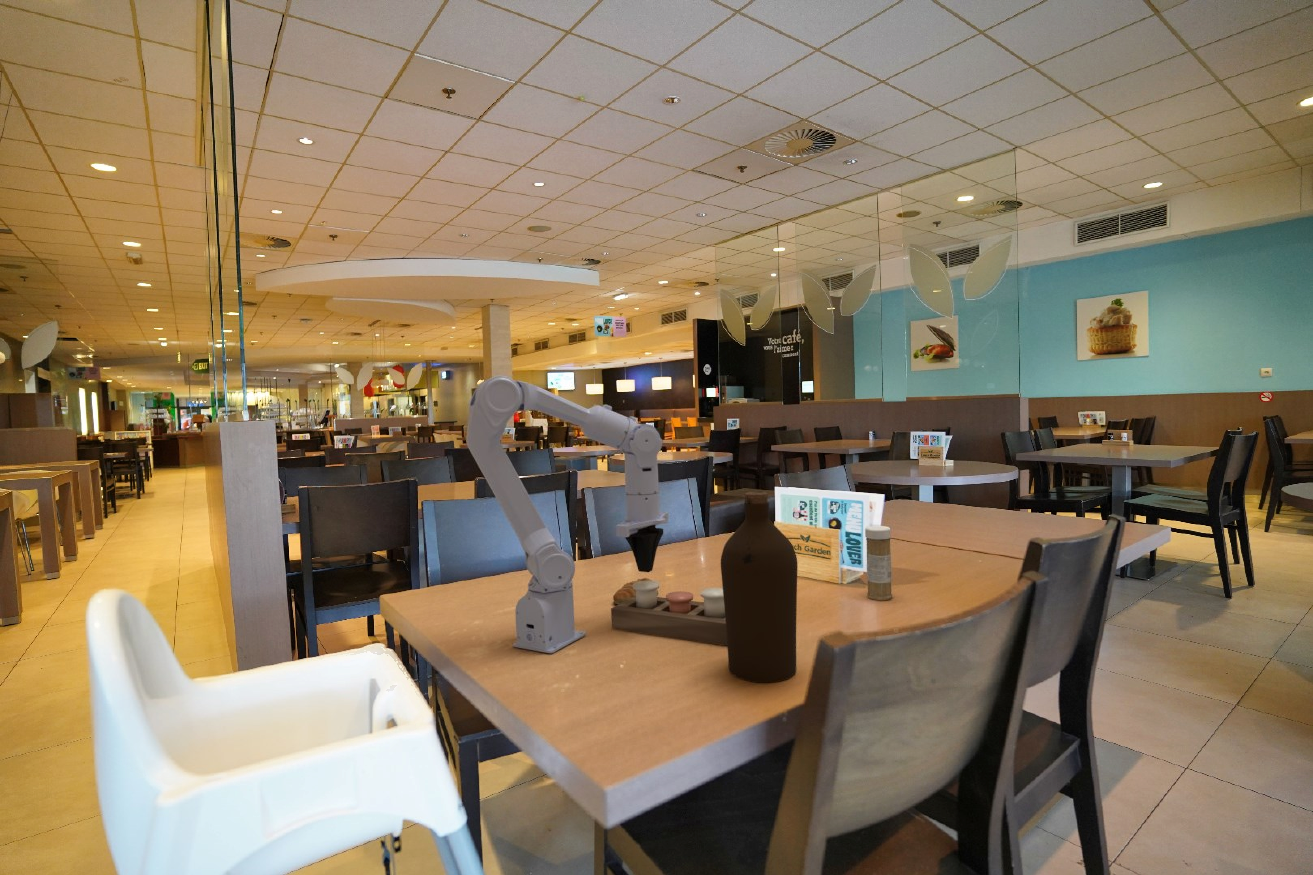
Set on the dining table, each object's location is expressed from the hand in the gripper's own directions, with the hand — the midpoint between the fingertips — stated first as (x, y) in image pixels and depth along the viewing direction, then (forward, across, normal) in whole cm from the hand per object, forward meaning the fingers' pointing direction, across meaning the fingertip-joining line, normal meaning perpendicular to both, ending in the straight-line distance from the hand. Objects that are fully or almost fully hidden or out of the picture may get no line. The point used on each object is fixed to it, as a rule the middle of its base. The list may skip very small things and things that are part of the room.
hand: (645, 570), depth 114 cm
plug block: (+9, 0, -6) cm, 11 cm away
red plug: (+8, 0, -7) cm, 10 cm away
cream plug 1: (+6, 0, 0) cm, 6 cm away
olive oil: (+10, -11, -25) cm, 29 cm away
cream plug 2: (+6, 0, -13) cm, 14 cm away
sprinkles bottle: (+10, +30, -34) cm, 46 cm away
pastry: (+10, +12, +10) cm, 18 cm away
